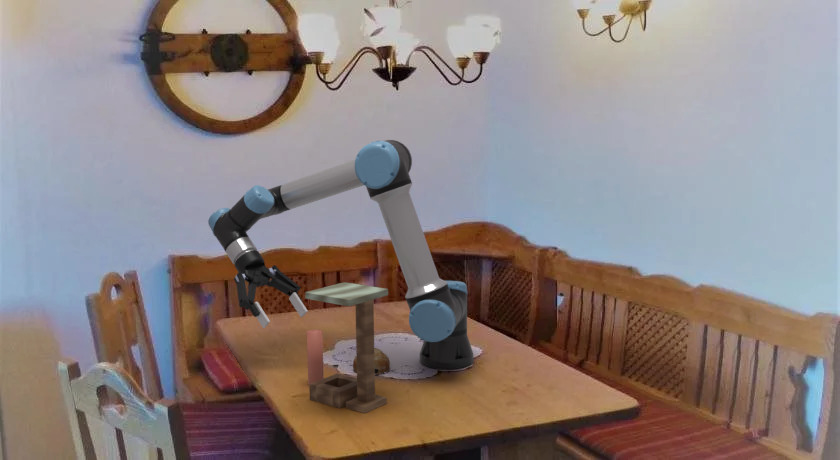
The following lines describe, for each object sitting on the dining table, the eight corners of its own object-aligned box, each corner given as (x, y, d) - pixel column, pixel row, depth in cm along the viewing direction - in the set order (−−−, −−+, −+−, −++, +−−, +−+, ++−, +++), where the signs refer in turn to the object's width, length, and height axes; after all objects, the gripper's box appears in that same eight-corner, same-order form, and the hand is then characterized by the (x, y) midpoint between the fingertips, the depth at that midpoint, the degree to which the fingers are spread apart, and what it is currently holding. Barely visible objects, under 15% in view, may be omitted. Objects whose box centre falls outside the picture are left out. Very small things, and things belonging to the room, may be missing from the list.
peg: (325, 381, 209) (324, 329, 207) (320, 386, 206) (319, 334, 204) (311, 380, 210) (309, 329, 208) (306, 386, 206) (304, 333, 204)
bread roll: (355, 388, 215) (357, 366, 211) (349, 362, 224) (350, 340, 219) (391, 384, 218) (394, 362, 214) (383, 359, 226) (386, 337, 222)
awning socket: (303, 402, 195) (300, 291, 191) (342, 386, 206) (340, 281, 202) (356, 417, 185) (354, 300, 181) (394, 399, 196) (392, 289, 192)
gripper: (273, 259, 230) (312, 317, 224) (202, 273, 211) (243, 338, 204) (285, 243, 226) (325, 301, 220) (215, 255, 207) (256, 320, 200)
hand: (286, 319), depth 212 cm, fingers open, 13 cm apart
